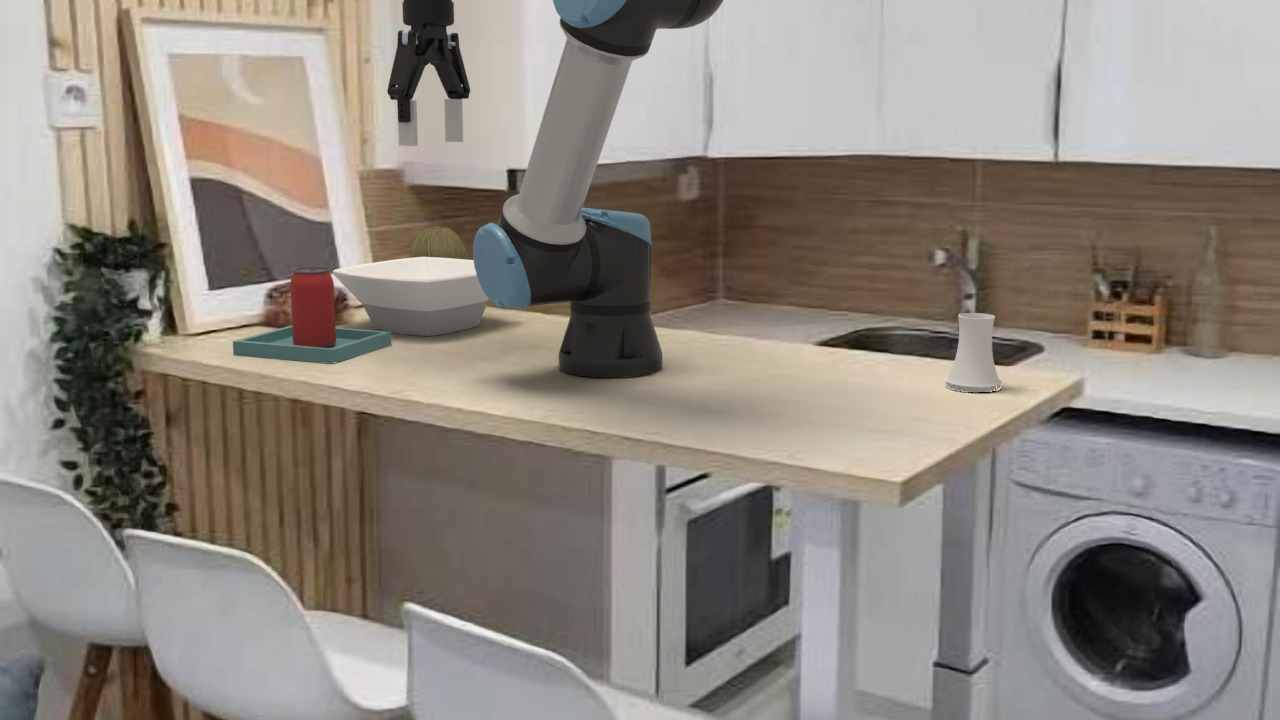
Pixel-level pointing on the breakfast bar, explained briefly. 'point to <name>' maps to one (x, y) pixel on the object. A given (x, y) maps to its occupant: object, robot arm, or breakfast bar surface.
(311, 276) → the beer can
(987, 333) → the cooling tower model
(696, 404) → the breakfast bar surface
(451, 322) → the bowl
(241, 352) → the tray
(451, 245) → the fruit
